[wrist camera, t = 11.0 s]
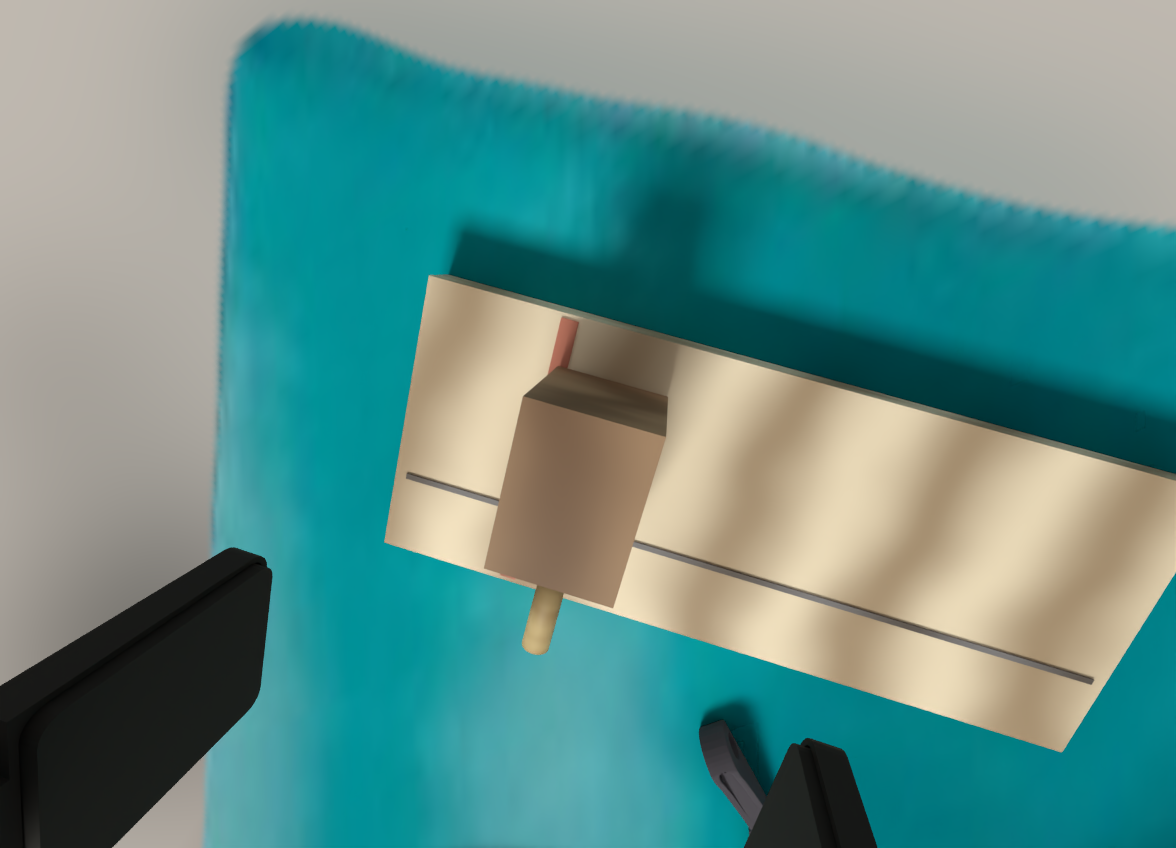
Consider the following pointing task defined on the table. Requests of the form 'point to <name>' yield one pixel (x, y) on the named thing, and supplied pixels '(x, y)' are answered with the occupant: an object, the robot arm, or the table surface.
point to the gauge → (575, 491)
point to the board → (810, 515)
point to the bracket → (731, 771)
